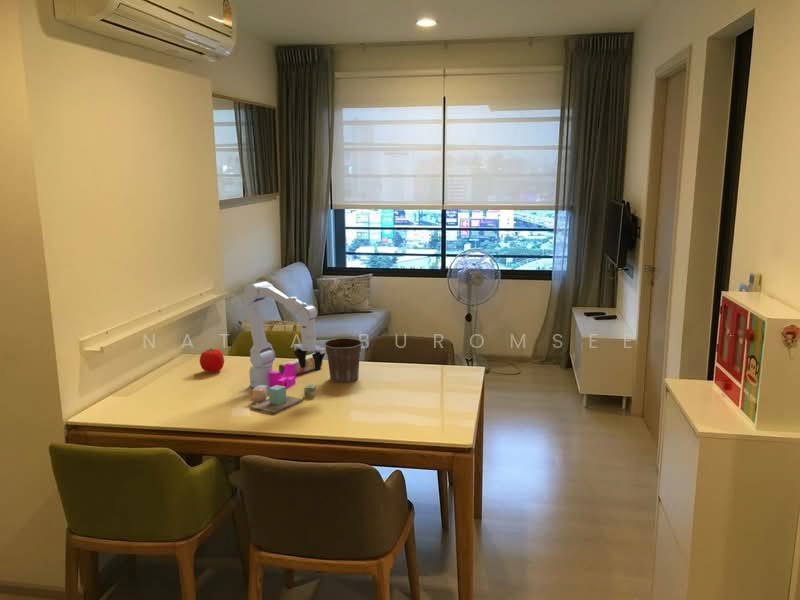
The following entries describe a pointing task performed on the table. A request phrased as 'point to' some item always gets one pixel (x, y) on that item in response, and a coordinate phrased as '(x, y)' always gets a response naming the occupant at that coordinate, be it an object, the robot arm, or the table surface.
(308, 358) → the snack package
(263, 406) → the board
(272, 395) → the teal block
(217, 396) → the table surface
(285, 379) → the toy block
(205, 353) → the tomato
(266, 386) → the grey cube
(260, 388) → the peach rounded piece
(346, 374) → the plant pot
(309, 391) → the olive block
